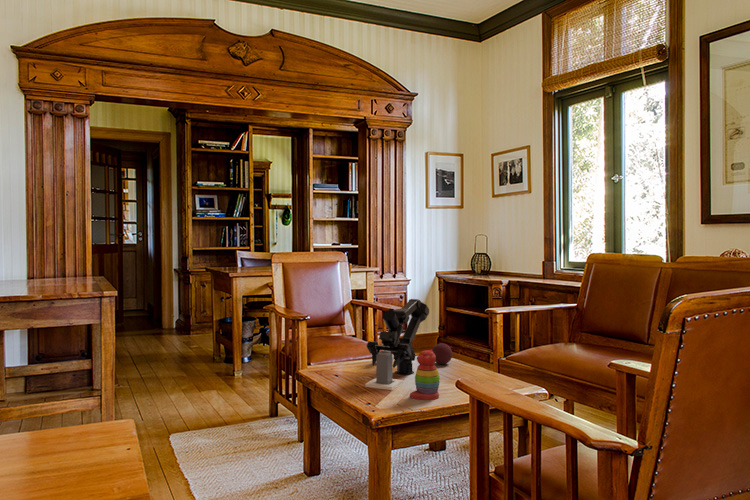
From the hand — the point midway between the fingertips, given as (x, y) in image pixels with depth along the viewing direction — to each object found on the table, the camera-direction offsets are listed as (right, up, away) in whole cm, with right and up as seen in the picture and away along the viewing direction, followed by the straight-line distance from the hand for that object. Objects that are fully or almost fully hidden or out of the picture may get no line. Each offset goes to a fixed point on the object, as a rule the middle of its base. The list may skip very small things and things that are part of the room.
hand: (383, 366), depth 224 cm
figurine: (+2, -8, +41) cm, 42 cm away
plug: (+1, -8, +1) cm, 8 cm away
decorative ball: (+29, -8, +39) cm, 49 cm away
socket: (+1, -8, +1) cm, 8 cm away
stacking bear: (+16, -9, -15) cm, 24 cm away
